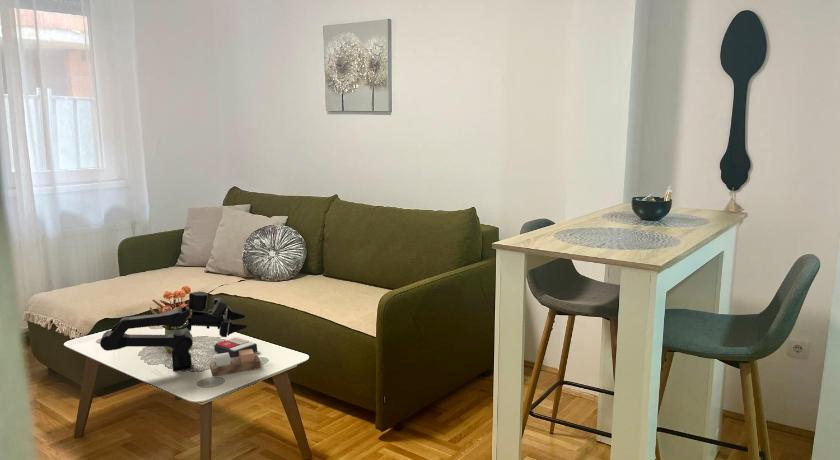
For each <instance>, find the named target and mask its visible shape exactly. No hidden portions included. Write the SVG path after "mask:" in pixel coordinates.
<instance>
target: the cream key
mask: <svg viewBox="0 0 840 460" xmlns="http://www.w3.org/2000/svg"><path fill="white" fill-rule="evenodd" d="M214 361H215V364H216V367H219V366H225V365H231V364H230V356H229V353H222V354H220V353H217V354H214Z"/></svg>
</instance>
